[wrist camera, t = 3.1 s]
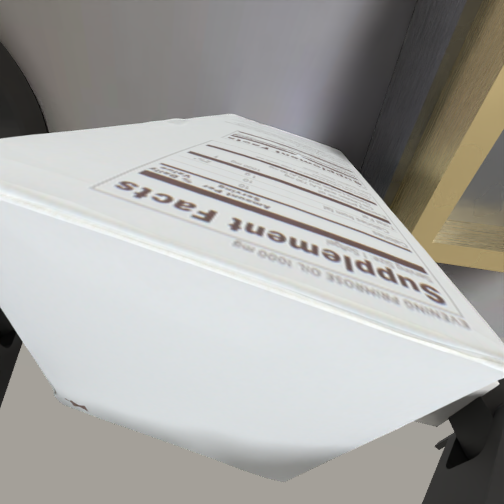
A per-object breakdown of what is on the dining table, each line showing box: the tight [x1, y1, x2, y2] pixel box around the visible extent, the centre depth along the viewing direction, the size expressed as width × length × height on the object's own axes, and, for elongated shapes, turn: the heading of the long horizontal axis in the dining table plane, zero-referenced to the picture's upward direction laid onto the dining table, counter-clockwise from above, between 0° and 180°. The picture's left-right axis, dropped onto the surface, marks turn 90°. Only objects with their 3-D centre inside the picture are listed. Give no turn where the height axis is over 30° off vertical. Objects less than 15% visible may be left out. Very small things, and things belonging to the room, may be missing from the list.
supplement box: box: [0, 114, 504, 482], centre depth 12 cm, size 10×9×17 cm
